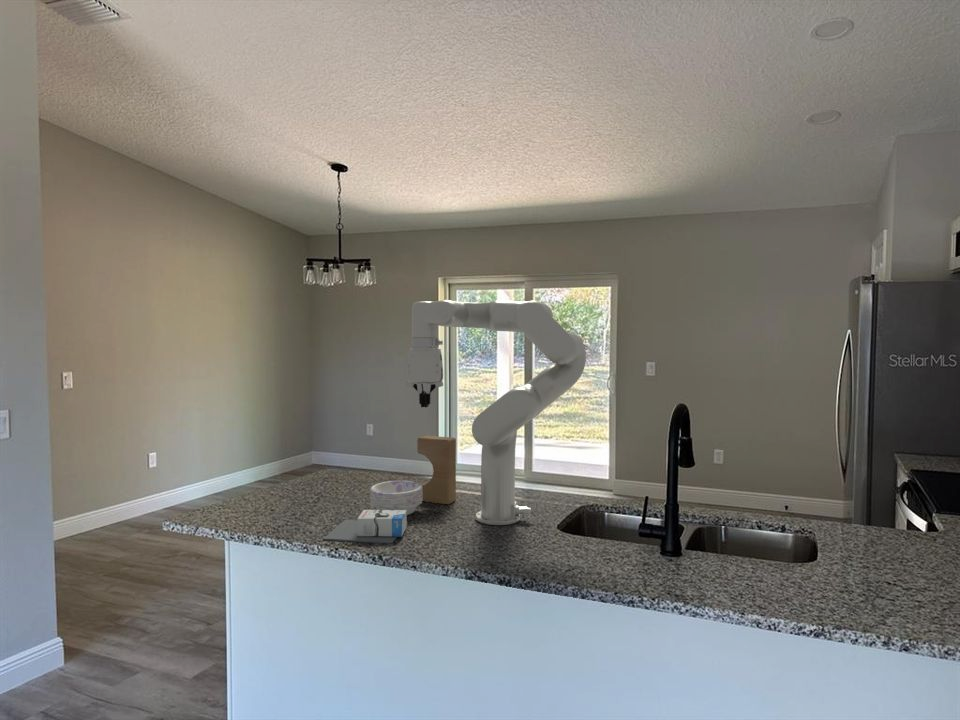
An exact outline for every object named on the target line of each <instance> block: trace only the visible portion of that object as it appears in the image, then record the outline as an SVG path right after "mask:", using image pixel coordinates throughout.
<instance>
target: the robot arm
mask: <svg viewBox="0 0 960 720" xmlns="http://www.w3.org/2000/svg"><path fill="white" fill-rule="evenodd" d="M553 315H554V314H553V311H552V309H551V308H550V307H549V305H547V304H546V303H543V302H540V301H537V300H528V301H515V300H492V301H490V302H466V301H457V300H450V299H443V300H436V301H430V300H429V301H426V300H424V301H415V302H413V303H412V305H411V348H410V349H409V351H408V358H407V366H406V379H407V380H406V386H407V387H409V388H414V389H415V391H417V393H418V397H419V399H418V401H419V402H418V403H419V405H420V408H428V407H429V406H430V405H431V393H432V392H433V391H434V390H435V389H437V388H441V387H443V386H444V382H443V379H444V366H443V354H442V350H441V348H438V347H439V346H441V345H442V346H443V339H439V337H438V333H439V331H438V330H439V327H448V328H449V327H451V328H453V327H454V328H470V329H471V328H472V329H474V328H475V329H485V330H486V329H487V330H490V331H493V332H510V333H511V332H513V333H514V332H515V333H523V334H524V336H526V338H527V339H528V340H529V341H530V342H531V343H532V344H533V345H534V346H535V347H536V348H537V349H538V350H539V351H540V353H542V355H544V356H545V358H547V360H548V361H550V362H551V364H549V365H548V366H546V368H544V369H543V370H542V371H541V372H539V373H538V374H537V375H535V377H533V378H532V379H530V380H529V381H527V382H526V383H525V384H522V385H520V386H517V387H513V388H512V389H510V390H509V391H507V392H506V393H504V394H503V395H502V396H500V398H498V399H497V400H496V401H494V402H493V403H492V404H491V405H489V406H488V407H486V408H485V409H484V410H483V411H482V412H480V413H478V415H477V416H475V418H474V420H473V422H472V424H471V433H472V437H473V438H474V441H476V442H477V444H478V445H481V456H480V457H481V464H480V467H481V468H480V469H481V471H480V474H481V476H480V477H481V478H480V480H481V481H480V482H481V483H480V487H481V489H480V499H481V500H480V507H481V508H480V510H479V511H478V512H476V513H475V520H476V521H477V522H479V523H481V524H485V525H489V526H491V525H492V526H508V525H513V524H516V523H518V522H519V521H520V520H521V515H524V516H530V515H531V511H532V510H531V507H528V506H525V505H524V506H519V505H518V504H517V501H516V500H515V498H516V496H515V493H516V492H515V491H516V487H515V486H516V485H515V484H516V445H517V444H516V443H517V434H518V430H520V429H521V428H522V427H523V426H525V425H526V424H527V423H529V422H530V421H532V420H533V419H535V418H537V417H538V416H539V415H540V414H541V413H543V411H544V410H545V409H546V408H547V407H549V406H550V405H551V404H553V403H554V402H556V401H557V400H558V399H559V398H560V397H562V396H563V395H565V393H567V392H568V391H569V390H571V388H573V387H574V385H575V384H576V383H578V381H579V379H580V378H581V376H582V374H583V372H584V370H585V367H586V363H587V362H586V361H587V353H586V346H585V344H584V342H583V340H582V339H581V337H580V336H579V335H577V334H576V333H573V332H569V331H568V330H567V331H566V329H565V328H564V327H563V326H562V325H561V324H560V323H559V322H558V321H557V320H556V319H555V318H554V316H553ZM424 384H426V387H424ZM424 388H425V389H424Z"/></svg>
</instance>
